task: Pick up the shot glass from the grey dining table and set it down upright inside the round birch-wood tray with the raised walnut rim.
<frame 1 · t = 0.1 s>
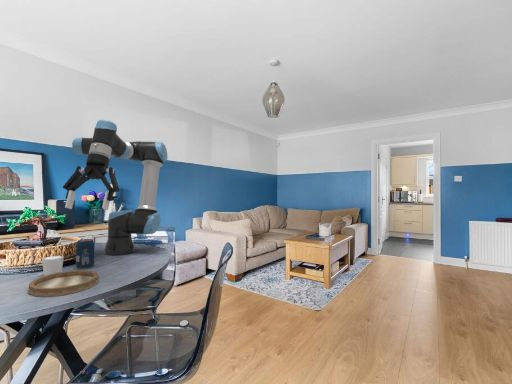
hand: (86, 208, 97), 28 cm above the table, tool tilted 20°, fingers open, 13 cm apart
dark blue box: (84, 267, 117), on the table
shot glass: (52, 275, 106), on the table
round tray: (65, 285, 95), on the table
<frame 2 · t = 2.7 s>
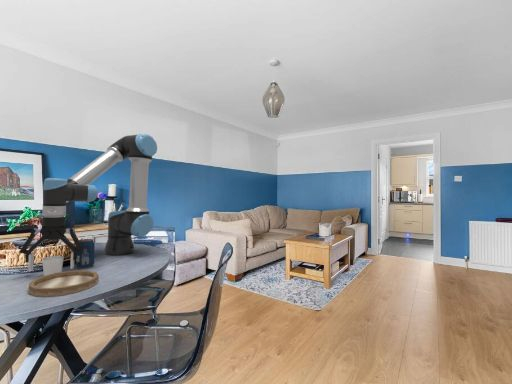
hand: (51, 269, 105), 2 cm above the table, tool pointing down, fingers open, 13 cm apart
nothing on the table moved.
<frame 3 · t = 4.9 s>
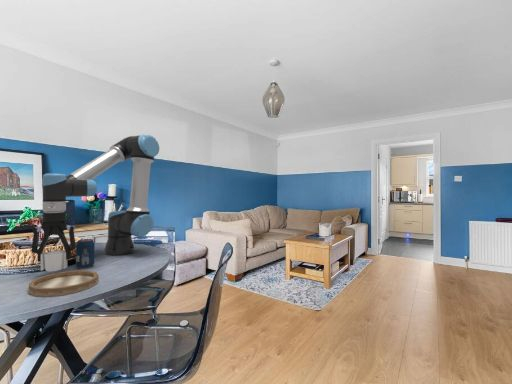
hand: (54, 268, 106), 2 cm above the table, tool pointing down, fingers closed on shot glass, 7 cm apart
shot glass: (54, 269, 106), point 2 cm above the table, touching gripper
everything else where it was.
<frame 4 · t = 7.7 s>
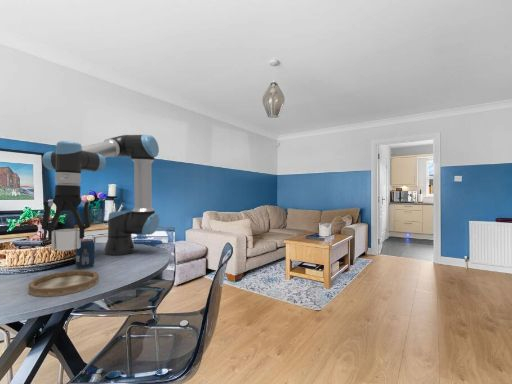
hand: (66, 248, 95), 13 cm above the table, tool pointing down, fingers closed on shot glass, 7 cm apart
shot glass: (66, 249, 95), point 13 cm above the table, touching gripper
everything else where it was.
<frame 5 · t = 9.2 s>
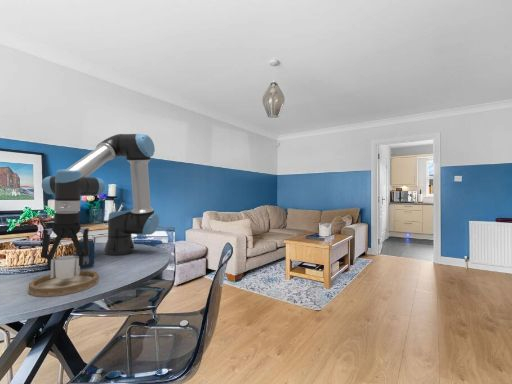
hand: (65, 275, 95), 3 cm above the table, tool pointing down, fingers closed on shot glass, 7 cm apart
shot glass: (65, 277, 95), point 3 cm above the table, touching gripper
everything else where it was.
when the fingers open (1 cm above the table, at t = 10.5 s): shot glass stays where it is, resting on round tray.
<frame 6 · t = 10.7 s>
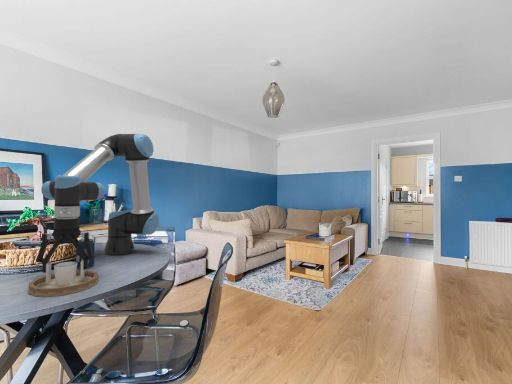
hand: (65, 279, 95), 2 cm above the table, tool pointing down, fingers open, 9 cm apart
shot glass: (65, 283, 95), point 1 cm above the table, touching round tray
everything else where it was.
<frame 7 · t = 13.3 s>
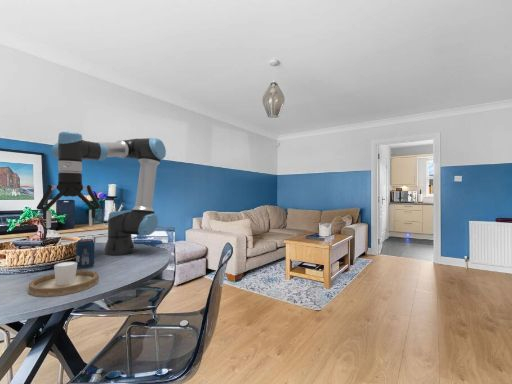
hand: (70, 227, 102), 20 cm above the table, tool pointing down, fingers open, 13 cm apart
nothing on the table moved.
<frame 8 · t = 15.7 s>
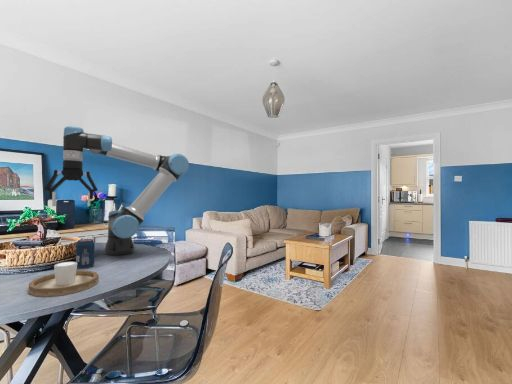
hand: (71, 206, 122), 27 cm above the table, tool pointing down, fingers open, 13 cm apart
nothing on the table moved.
at the end: shot glass inside the target area on the round tray (0.1 cm from its centre), point 0.6 cm above the round tray's base; shot glass tilted 0°; the gripper is holding nothing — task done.
